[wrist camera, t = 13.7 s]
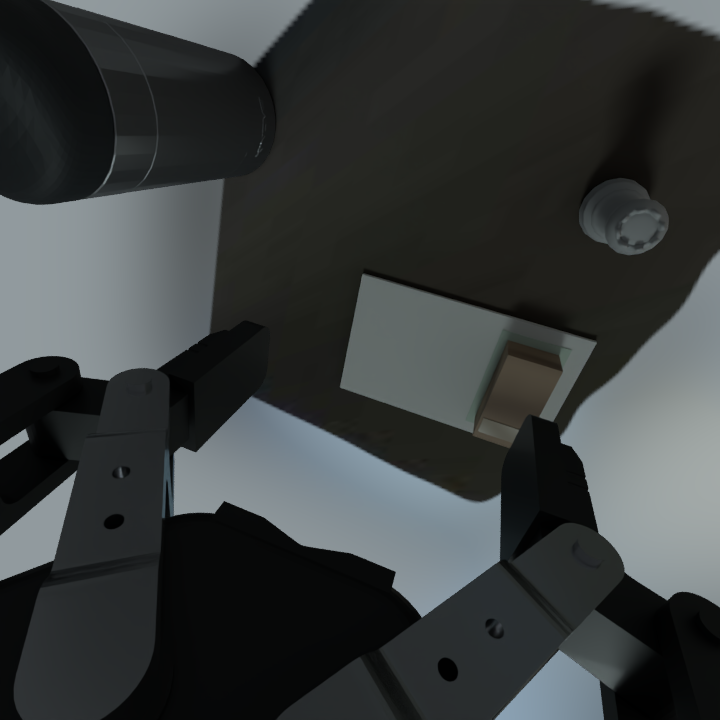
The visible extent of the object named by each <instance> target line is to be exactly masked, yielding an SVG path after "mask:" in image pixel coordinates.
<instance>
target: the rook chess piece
mask: <svg viewBox="0 0 720 720" xmlns="http://www.w3.org/2000/svg"><path fill="white" fill-rule="evenodd" d="M668 221H669V216H668V214H667V212H666V209H665V207H663V206H662V205H661V204H660V203H658V202H657V201H655V200H650V197H649V195H648V193H647V190H646V189H644V188H643V187H642V186H641V185H639V184H638V183H637V182H635V181H634V180H629V179H624V178H617V179H612V180H607V181H605V182H603V183H601V184H600V185H598V186H596V187H594V188H593V189H592V190H591V192H590V193H589V194H588V195H587V196H586V197H585V198H584V200H583V203H582V205H581V207H580V210H579V223H580V225H581V227H582V229H583V231H584V233H585V234H587V235H588V236H589V237H591V238H592V239H593V240H595V241H598V242H602V243H607V244H609V246H610V247H611V248H612V249H614V250H615V251H616V252H618V253H622V254H626V255H633V254H641V253H643V252H645V251H647V250H649V249H651V248H653V247H654V246H655V245H656V244H657V243H659V242H660V241H661V240H662V238H663V237H664V235H665V233H666V231H667V229H668Z"/></svg>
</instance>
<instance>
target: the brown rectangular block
mask: <svg viewBox="0 0 720 720" xmlns="http://www.w3.org/2000/svg"><path fill="white" fill-rule="evenodd" d="M562 373H563V369H562V365H561V361H560V357H559V355H556V354H553V353H549V352H546V351H543V350H539V349H536V348H533V347H530V346H526V345H523V344H520V343H516V342H513V341H510V340H508V341H507V343H506V346H505V348H504V350H503V353H502V355H501V357H500V360H499V362H498V364H497V367H496V369H495V371H494V374H493V376H492V378H491V381H490V383H489V385H488V388H487V390H486V392H485V395H484V397H483V399H482V402H481V404H480V406H479V409H478V411H477V413H476V416H475V420H474V429H473V436H476V437H479V438H482V439H484V440H487V441H490V442H493V443H496V444H499V445H502V446H505V447H508V448H510V447H511V445H512V443H513V441H514V439H515V437H516V435H517V433H518V431H519V430H520V428H521V426H522V424H523V422H524V420H525V418H526V417H527V416H528V415H529V414H531V415H534V416H537V417H539V416H540V414H541V413H542V411H543V409H544V407H545V405H546V403H547V401H548V399H549V397H550V396H551V394H552V392H553V390H554V388H555V386H556V384H557V382H558V381H559V379H560V377H561V375H562Z"/></svg>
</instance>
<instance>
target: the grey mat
mask: <svg viewBox="0 0 720 720" xmlns="http://www.w3.org/2000/svg"><path fill="white" fill-rule="evenodd" d="M508 340H510V341H513V342H516V343H520V344H523V345H526V346H530V347H533V348H536V349H539V350H543V351H546V352H549V353H553V354H556V355H559V357H560V361H561V365H562V369H563V373H562V375H561V377H560V379H559V381H558V382H557V384H556V386H555V388H554V390H553V392H552V394H551V396H550V397H549V399H548V401H547V403H546V405H545V407H544V409H543V411H542V413H541V414H540V416H539V417H540V418H543V419H546V420H549V421H552V422H553V421H554V419H555V417H556V415H557V413H558V412H559V410H560V408H561V406H562V404H563V403H564V401H565V399H566V397H567V395H568V394H569V392H570V390H571V388H572V386H573V385H574V383H575V381H576V379H577V377H578V376H579V374H580V372H581V370H582V368H583V367H584V365H585V363H586V361H587V359H588V358H589V356H590V354H591V352H592V350H593V349H594V347H595V345H596V343H597V342H596V341H595V340H591V339H588V338H584V337H581V336H578V335H574V334H571V333H567V332H564V331H560V330H557V329H554V328H550V327H547V326H543V325H540V324H536V323H533V322H530V321H526V320H523V319H519V318H516V317H512V316H509V315H506V314H502V313H499V312H495V311H492V310H488V309H485V308H482V307H478V306H475V305H471V304H468V303H464V302H461V301H458V300H454V299H451V298H447V297H444V296H440V295H437V294H434V293H430V292H427V291H423V290H420V289H416V288H413V287H410V286H406V285H403V284H399V283H396V282H392V281H389V280H386V279H382V278H379V277H375V276H372V275H368V274H365V273H363V274H362V279H361V284H360V289H359V294H358V299H357V304H356V310H355V315H354V320H353V325H352V330H351V335H350V340H349V345H348V350H347V355H346V360H345V365H344V370H343V375H342V380H341V385H340V388H343V389H346V390H349V391H352V392H355V393H358V394H361V395H364V396H367V397H369V398H372V399H375V400H378V401H381V402H384V403H387V404H390V405H393V406H396V407H399V408H402V409H404V410H407V411H410V412H413V413H416V414H419V415H422V416H425V417H428V418H431V419H434V420H436V421H439V422H442V423H445V424H448V425H451V426H454V427H457V428H460V429H463V430H466V431H468V432H471V433H473V429H474V420H475V416H476V413H477V411H478V409H479V406H480V404H481V402H482V399H483V397H484V395H485V392H486V390H487V388H488V385H489V383H490V381H491V378H492V376H493V374H494V371H495V369H496V367H497V364H498V362H499V360H500V357H501V355H502V353H503V350H504V348H505V346H506V343H507V341H508Z"/></svg>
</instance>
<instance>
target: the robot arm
mask: <svg viewBox="0 0 720 720" xmlns="http://www.w3.org/2000/svg"><path fill="white" fill-rule="evenodd" d="M274 135H275V112H274V107H273V102H272V99H271V96H270V93H269V91H268V89H267V87H266V85H265V83H264V81H263V79H262V78H261V76H260V75H259V74H258V73H257V72H256V70H255V69H254V68H253V67H252V66H251V65H249V64H248V63H247V62H246V61H245V60H243V59H241V58H239V57H237V56H235V55H233V54H229V53H226V52H223V51H219V50H216V49H213V48H210V47H206V46H203V45H200V44H197V43H194V42H190V41H187V40H183V39H180V38H177V37H174V36H170V35H167V34H163V33H160V32H157V31H153V30H150V29H147V28H143V27H140V26H136V25H133V24H130V23H127V22H123V21H120V20H117V19H113V18H110V17H106V16H103V15H100V14H96V13H93V12H90V11H86V10H83V9H80V8H75V7H72V6H68V5H65V4H62V3H58V2H55V1H51V0H0V195H2V196H4V197H6V198H9V199H12V200H15V201H18V202H22V203H29V204H36V205H42V204H43V205H44V204H56V203H62V202H69V201H76V200H80V199H87V198H94V197H101V196H108V195H114V194H121V193H126V192H132V191H140V190H146V189H154V188H161V187H167V186H174V185H181V184H188V183H195V182H201V181H208V180H217V179H223V178H230V177H237V176H242V175H246V174H249V173H251V172H253V171H254V170H256V169H257V168H258V167H259V166H260V165H261V164H262V163H263V162H264V161H265V159H266V158H267V156H268V155H269V153H270V150H271V147H272V145H273V142H274ZM269 340H270V331H269V328H267V327H265V326H262V325H258V324H255V323H252V322H249V321H243V322H241V323H240V324H238V325H237V326H236V327H234V328H233V329H231V330H230V331H227V330H223V331H220V332H216V333H213V334H210V335H208V336H206V337H205V338H203V339H202V340H200V341H199V342H198V344H195V345H193V346H191V347H190V348H189V350H185V351H184V352H183V353H181V354H180V355H178V356H176V357H175V358H173V359H172V360H170V361H169V362H168V363H166V364H165V365H163V366H161V367H160V368H159V369H157V370H154V369H148V368H138V369H131V370H127V371H124V372H121V373H119V374H117V375H115V376H114V377H113V378H111V379H110V381H106V380H99V379H91V378H83V377H81V375H80V370H79V366H78V364H77V363H76V362H75V361H73V360H72V359H69V358H66V357H59V356H47V357H40V358H35V359H31V360H28V361H25V362H23V363H21V364H19V365H17V366H15V367H13V368H11V369H9V370H7V371H5V372H3V373H1V374H0V445H1V444H3V443H4V442H6V441H7V440H9V439H10V438H11V437H13V436H15V435H16V434H18V433H19V432H21V431H22V430H24V429H26V431H27V434H28V437H29V440H28V441H26V442H25V443H24V444H22V445H21V446H19V447H18V448H17V449H15V450H13V451H12V452H11V453H9V454H8V455H6V456H5V457H3V458H2V459H0V535H1V534H3V533H4V532H5V531H6V530H7V529H9V528H10V527H11V526H12V525H13V524H14V523H16V522H17V521H18V520H19V519H20V518H21V517H23V516H24V515H25V514H26V513H27V512H28V511H30V510H31V509H32V508H33V507H34V506H36V505H37V504H38V503H39V502H40V501H41V500H42V499H44V498H45V497H46V496H47V495H48V494H50V493H51V492H52V491H53V490H54V489H55V488H57V487H58V486H59V485H60V484H61V483H63V482H64V481H65V480H66V479H67V478H68V477H70V476H71V475H72V474H73V473H74V472H75V471H77V473H76V477H75V481H74V485H73V489H72V493H71V497H70V501H69V505H68V508H67V513H66V516H65V520H64V524H63V528H62V532H61V536H60V540H59V544H58V548H57V551H56V555H55V559H54V561H51V562H49V563H46V564H43V565H41V566H38V567H36V568H33V569H30V570H28V571H25V572H23V573H20V574H17V575H15V576H12V577H9V578H7V579H4V580H1V581H0V720H495V718H496V717H497V716H498V715H499V714H500V713H501V712H502V711H503V710H504V708H505V707H506V706H507V705H508V704H509V703H510V702H511V701H512V700H513V699H514V698H515V697H516V695H517V694H518V693H519V692H520V691H521V690H522V689H523V688H524V687H525V686H526V685H527V684H528V683H529V681H531V679H532V678H533V677H534V676H535V675H536V674H537V673H538V672H539V671H540V670H541V669H542V668H543V667H544V665H545V664H546V663H547V662H548V661H549V660H550V659H551V658H552V657H553V656H554V655H555V654H556V653H557V652H558V650H561V651H562V652H563V653H565V654H566V655H567V656H569V657H570V658H571V659H572V660H574V661H575V662H576V663H578V664H579V665H580V666H582V667H583V668H584V669H586V670H587V671H588V672H590V673H591V674H592V675H593V676H595V677H596V678H597V679H599V680H600V688H601V697H602V705H603V714H604V720H720V608H719V607H718V606H717V605H715V604H714V603H712V602H710V601H709V600H707V599H705V598H703V597H701V596H699V595H696V594H693V593H689V592H679V593H676V594H674V595H673V596H672V597H671V598H670V599H669V600H668V601H667V600H665V599H664V598H662V597H661V596H659V595H658V594H656V593H654V592H653V591H651V590H650V589H648V588H647V587H645V586H643V585H642V584H640V583H638V582H637V581H636V580H634V579H632V578H631V577H630V576H628V575H627V574H626V573H625V572H624V565H623V562H622V559H621V557H620V556H619V554H618V552H617V551H616V550H615V548H614V547H613V546H612V545H611V544H610V543H609V542H608V541H607V540H606V539H605V538H604V537H603V536H601V535H600V534H599V533H598V528H597V524H596V520H595V516H594V511H593V507H592V502H591V498H590V494H589V492H588V485H587V481H586V479H585V477H586V476H585V472H584V468H583V463H582V461H581V460H580V458H579V457H578V455H577V454H576V453H575V451H574V450H573V449H572V447H571V446H567V445H565V444H562V443H561V440H560V435H559V429H558V425H557V423H555V422H552V421H549V420H546V419H543V418H540V417H537V416H534V415H531V414H529V415H528V416H527V417H526V418H525V420H524V422H523V424H522V426H521V428H520V430H519V431H518V433H517V435H516V437H515V439H514V441H513V443H512V445H511V447H510V449H509V451H508V453H507V455H506V458H505V461H504V464H503V468H502V476H501V538H500V561H499V562H498V563H497V564H495V565H493V566H492V567H491V568H490V569H488V570H487V571H485V572H484V573H483V574H481V575H480V576H478V577H477V578H476V579H474V580H473V581H472V582H470V583H469V584H468V585H466V586H465V587H463V588H462V589H461V590H459V591H458V592H457V593H455V594H454V595H452V596H451V597H450V598H449V599H447V600H446V601H444V602H443V603H442V604H440V605H439V606H437V607H436V608H435V609H433V610H432V611H431V612H429V613H428V614H427V615H425V616H424V617H423V618H422V617H421V616H420V614H419V613H418V612H417V610H416V609H415V608H414V607H413V606H412V605H411V603H410V602H409V601H408V600H407V599H405V598H404V597H403V596H402V595H401V594H400V593H399V592H398V591H396V590H395V589H394V588H392V584H393V580H394V577H395V573H396V572H395V571H392V570H390V569H387V568H385V567H382V566H380V565H377V564H375V563H373V562H370V561H368V560H366V559H363V558H361V557H358V556H356V555H353V554H351V553H344V552H337V551H331V550H325V549H318V548H312V547H306V546H303V545H300V544H298V543H297V542H296V541H294V540H293V539H292V538H290V537H289V536H287V535H286V534H285V533H284V532H282V531H281V530H280V529H278V528H277V527H276V526H274V525H273V524H272V523H270V522H269V521H268V520H266V519H265V518H264V517H261V516H259V515H256V514H254V513H251V512H249V511H247V510H244V509H242V508H239V507H237V506H235V505H232V504H230V503H227V502H225V501H224V502H223V503H222V505H221V506H220V507H219V509H218V510H217V511H216V512H215V514H212V513H187V514H181V515H175V516H174V452H175V451H177V450H178V449H179V448H180V447H184V448H186V449H189V450H191V451H194V452H197V451H198V450H199V448H200V447H202V446H203V444H204V443H205V442H206V441H207V440H208V439H209V438H210V437H211V436H212V435H213V434H214V433H215V432H216V431H217V430H218V429H219V428H220V427H221V426H222V425H223V424H224V423H225V422H226V421H227V420H228V419H229V418H230V417H231V416H232V415H233V414H234V413H235V412H236V411H237V410H238V409H239V408H240V407H241V406H242V405H243V404H244V403H245V402H246V401H247V400H248V399H249V398H250V397H251V396H252V395H253V394H254V393H255V392H256V391H257V390H258V389H259V387H260V386H261V385H262V383H263V381H264V379H265V376H266V372H267V364H268V352H269Z"/></svg>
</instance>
